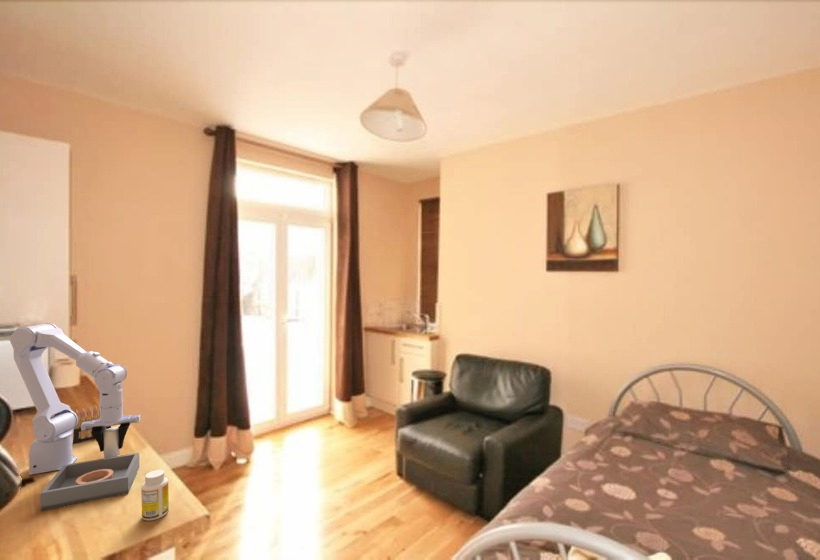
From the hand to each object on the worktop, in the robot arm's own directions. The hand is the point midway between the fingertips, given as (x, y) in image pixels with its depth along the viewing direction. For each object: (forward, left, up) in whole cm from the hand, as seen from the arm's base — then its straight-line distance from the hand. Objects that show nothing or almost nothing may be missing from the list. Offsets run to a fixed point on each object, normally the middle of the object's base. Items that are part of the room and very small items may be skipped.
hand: (111, 448), depth 121 cm
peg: (0, 0, -2) cm, 2 cm away
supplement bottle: (+16, -36, -5) cm, 40 cm away
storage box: (-1, -14, -5) cm, 15 cm away
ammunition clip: (-11, +26, -5) cm, 29 cm away
